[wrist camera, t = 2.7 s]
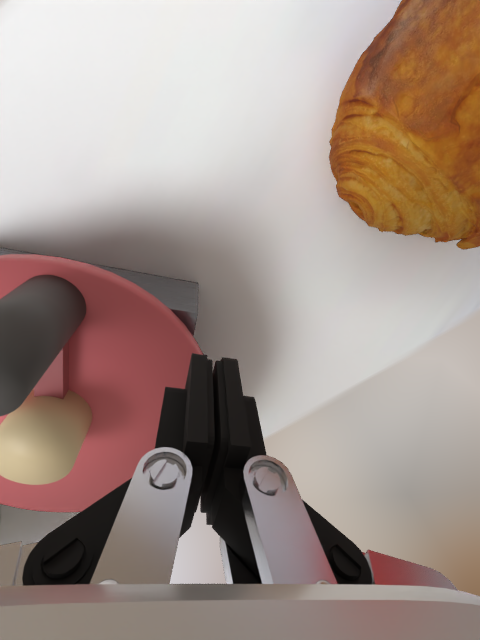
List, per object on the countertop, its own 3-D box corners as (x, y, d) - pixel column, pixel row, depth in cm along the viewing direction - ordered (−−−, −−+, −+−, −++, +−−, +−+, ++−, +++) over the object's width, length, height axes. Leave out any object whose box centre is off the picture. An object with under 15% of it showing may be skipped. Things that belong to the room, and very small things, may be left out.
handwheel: (187, 500, 25) (183, 619, 18) (-82, 490, 21) (-203, 633, 15) (240, 289, 17) (264, 365, 11) (-163, 216, 14) (-482, 266, 7)
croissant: (276, 116, 20) (292, 110, 14) (534, -141, 15) (778, -367, 8) (384, 273, 26) (435, 324, 19) (602, 126, 21) (781, 124, 14)
